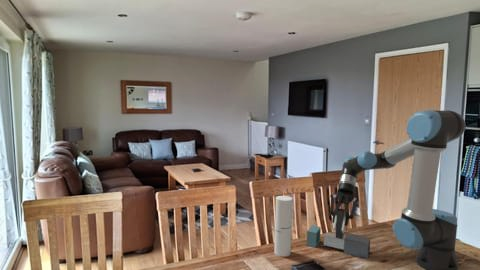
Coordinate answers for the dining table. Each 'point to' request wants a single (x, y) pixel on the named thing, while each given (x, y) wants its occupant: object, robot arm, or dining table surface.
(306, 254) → the dining table surface
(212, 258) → the dining table surface
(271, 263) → the dining table surface
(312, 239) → the socket block
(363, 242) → the matte charcoal box
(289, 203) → the cylindrical container
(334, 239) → the gray bar with post
